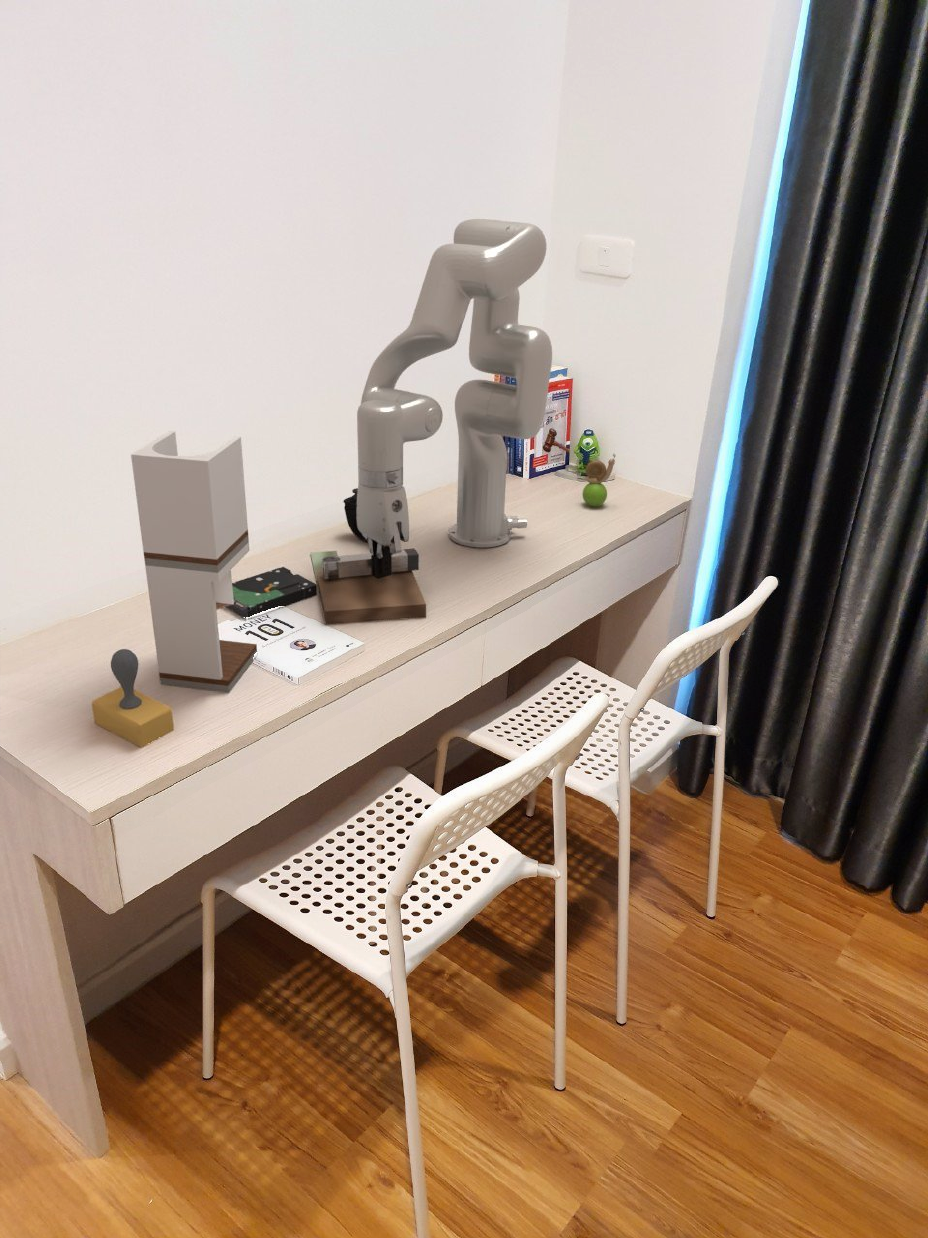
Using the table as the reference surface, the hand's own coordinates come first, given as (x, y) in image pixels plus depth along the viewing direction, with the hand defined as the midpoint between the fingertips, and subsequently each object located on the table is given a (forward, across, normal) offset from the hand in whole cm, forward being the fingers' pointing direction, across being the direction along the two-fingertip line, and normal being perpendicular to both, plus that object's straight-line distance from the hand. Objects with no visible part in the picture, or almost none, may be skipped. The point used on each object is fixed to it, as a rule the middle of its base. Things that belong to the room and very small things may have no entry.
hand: (381, 575), depth 172 cm
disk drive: (+4, +10, +17) cm, 21 cm away
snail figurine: (+4, +11, -64) cm, 66 cm away
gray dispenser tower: (+4, -8, +36) cm, 37 cm away
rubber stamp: (+4, -16, +51) cm, 54 cm away
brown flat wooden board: (+4, +5, 0) cm, 6 cm away
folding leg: (+1, +4, 0) cm, 4 cm away
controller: (+4, +22, -12) cm, 25 cm away
